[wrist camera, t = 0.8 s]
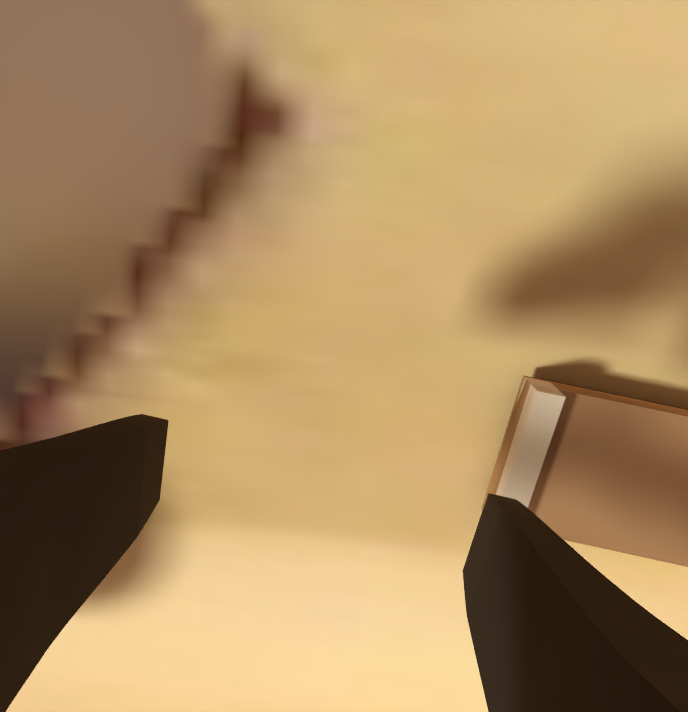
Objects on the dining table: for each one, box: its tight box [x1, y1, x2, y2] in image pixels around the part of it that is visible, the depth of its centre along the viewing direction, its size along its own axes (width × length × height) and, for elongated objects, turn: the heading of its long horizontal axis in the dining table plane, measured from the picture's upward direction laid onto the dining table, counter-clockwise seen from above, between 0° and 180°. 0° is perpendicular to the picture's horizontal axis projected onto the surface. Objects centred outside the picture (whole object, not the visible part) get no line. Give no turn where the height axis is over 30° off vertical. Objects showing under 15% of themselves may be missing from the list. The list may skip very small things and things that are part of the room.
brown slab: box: [482, 376, 688, 567], centre depth 19 cm, size 6×10×2 cm, turn 79°
